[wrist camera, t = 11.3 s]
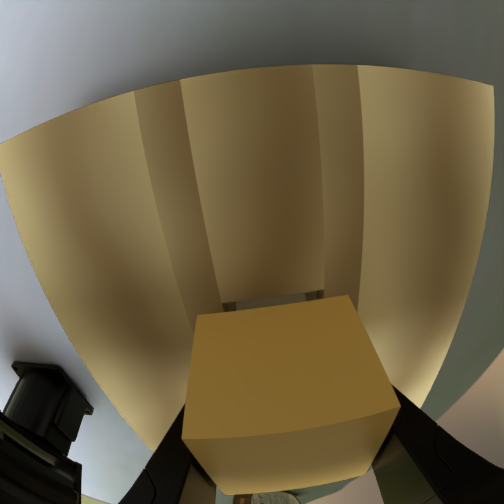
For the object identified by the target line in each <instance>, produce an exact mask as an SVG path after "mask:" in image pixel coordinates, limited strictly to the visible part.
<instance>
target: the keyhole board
mask: <svg viewBox="0 0 504 504" xmlns="http://www.w3.org/2000/svg"><path fill="white" fill-rule="evenodd" d="M493 154H494V91H493V86H491V85H487V84H484V83H480V82H476V81H471V80H467V79H463V78H458V77H453V76H448V75H442V74H437V73H431V72H424V71H417V70H410V69H402V68H392V67H381V66H366V65H341V64H311V65H286V66H271V67H260V68H250V69H241V70H233V71H226V72H219V73H213V74H206V75H201V76H195V77H190V78H185V79H180V80H175V81H171V82H166V83H162V84H158V85H154V86H150V87H146V88H142V89H138V90H135V91H131V92H128V93H124V94H121V95H117V96H114V97H111V98H108V99H105V100H102V101H99V102H96V103H93V104H90V105H87V106H84V107H82V108H79V109H76V110H74V111H71V112H69V113H66V114H64V115H61V116H59V117H56V118H54V119H51V120H49V121H47V122H45V123H42V124H40V125H38V126H36V127H33V128H31V129H29V130H27V131H25V132H23V133H21V134H19V135H17V136H15V137H13V138H11V139H9V140H7V141H5V142H3V143H1V144H0V172H1V176H2V180H3V183H4V187H5V191H6V194H7V197H8V201H9V204H10V207H11V210H12V213H13V217H14V220H15V222H16V225H17V228H18V231H19V234H20V236H21V239H22V242H23V244H24V247H25V249H26V252H27V254H28V257H29V259H30V262H31V264H32V266H33V269H34V271H35V273H36V275H37V278H38V280H39V282H40V284H41V286H42V288H43V291H44V293H45V295H46V297H47V299H48V301H49V303H50V305H51V307H52V309H53V310H54V312H55V314H56V316H57V318H58V320H59V322H60V324H61V325H62V327H63V329H64V331H65V332H66V334H67V336H68V338H69V339H70V341H71V343H72V344H73V346H74V348H75V349H76V351H77V353H78V354H79V356H80V357H81V359H82V361H83V362H84V364H85V365H86V367H87V368H88V370H89V371H90V373H91V374H92V376H93V377H94V379H95V380H96V382H97V383H98V384H99V386H100V387H101V389H102V390H103V391H104V393H105V394H106V396H107V397H108V398H109V400H110V401H111V402H112V404H113V405H114V406H115V408H116V409H117V410H118V411H119V413H120V414H121V415H122V416H123V418H124V419H125V420H126V421H127V423H128V424H129V425H130V426H131V428H132V429H133V430H134V431H135V432H136V433H137V435H138V436H139V437H140V438H141V439H142V440H143V442H144V443H145V444H146V445H147V446H148V447H149V448H150V449H151V450H152V452H153V453H154V452H155V450H156V449H157V447H158V446H159V444H160V442H161V441H162V439H163V438H164V436H165V434H166V433H167V431H168V430H169V428H170V426H171V425H172V423H173V422H174V420H175V418H176V417H177V415H178V413H179V412H180V410H181V409H182V407H183V405H184V404H185V402H186V394H187V385H188V377H189V369H190V362H191V354H192V347H193V340H194V332H195V325H196V319H197V315H203V314H213V313H222V312H228V308H227V303H228V302H236V301H244V300H252V299H260V298H268V297H275V296H283V295H290V294H297V293H304V292H311V291H317V300H319V299H325V298H331V297H337V296H343V295H348V296H349V298H350V300H351V302H352V303H353V305H354V307H355V309H356V311H357V313H358V315H359V317H360V319H361V321H362V323H363V325H364V327H365V329H366V331H367V334H368V336H369V338H370V340H371V342H372V344H373V346H374V348H375V350H376V352H377V354H378V356H379V359H380V361H381V363H382V365H383V367H384V369H385V372H386V374H387V376H388V378H389V380H390V383H391V384H392V385H393V386H395V387H396V388H397V389H398V390H399V391H400V392H401V393H403V394H404V395H405V396H406V397H407V398H408V399H409V400H411V401H412V402H413V403H414V404H415V405H416V406H417V407H419V408H421V406H422V404H423V402H424V400H425V399H426V397H427V395H428V393H429V391H430V389H431V387H432V385H433V383H434V380H435V378H436V376H437V374H438V372H439V370H440V368H441V365H442V363H443V361H444V358H445V356H446V354H447V351H448V349H449V346H450V344H451V341H452V339H453V336H454V334H455V331H456V328H457V326H458V323H459V320H460V317H461V314H462V312H463V309H464V305H465V302H466V299H467V296H468V293H469V289H470V286H471V283H472V279H473V275H474V272H475V268H476V264H477V260H478V256H479V251H480V247H481V242H482V238H483V233H484V227H485V222H486V216H487V210H488V203H489V196H490V188H491V179H492V168H493Z"/></svg>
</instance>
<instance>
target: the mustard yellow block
mask: <svg viewBox="0 0 504 504" xmlns="http://www.w3.org/2000/svg"><path fill="white" fill-rule="evenodd" d="M227 308H228V312H222V313H213V314H203V315H197V319H196V325H195V332H194V340H193V347H192V354H191V362H190V369H189V377H188V385H187V394H186V402H185V411H184V420H183V430H182V440H183V442H184V443H185V444H186V446H187V447H188V449H189V450H190V451H191V453H192V454H193V455H194V457H195V458H196V460H197V461H198V462H199V463H200V465H201V466H202V467H203V469H204V470H205V471H206V473H207V474H208V475H209V476H210V478H211V479H212V480H213V481H214V483H215V484H216V485H217V486H218V487H219V489H220V490H221V491H222V492H223V493H224V495H234V494H253V493H265V492H275V491H284V490H291V489H298V488H305V487H311V486H316V485H322V484H327V483H332V482H336V481H341V480H345V479H349V478H353V477H357V476H361V475H365V473H366V471H367V470H368V468H369V466H370V465H371V463H372V461H373V460H374V458H375V456H376V454H377V452H378V451H379V449H380V447H381V445H382V443H383V441H384V440H385V438H386V436H387V434H388V432H389V430H390V428H391V426H392V424H393V422H394V420H395V418H396V416H397V413H398V411H399V409H400V407H401V405H400V403H399V401H398V398H397V396H396V394H395V392H394V389H393V387H392V385H391V383H390V380H389V378H388V376H387V374H386V372H385V369H384V367H383V365H382V363H381V361H380V359H379V356H378V354H377V352H376V350H375V348H374V346H373V344H372V342H371V340H370V338H369V336H368V334H367V331H366V329H365V327H364V325H363V323H362V321H361V319H360V317H359V315H358V313H357V311H356V309H355V307H354V305H353V303H352V302H351V300H350V298H349V296H348V295H343V296H337V297H331V298H325V299H319V300H317V291H311V292H304V293H297V294H290V295H283V296H275V297H268V298H260V299H252V300H244V301H236V302H228V303H227Z"/></svg>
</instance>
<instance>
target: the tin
mask: <svg viewBox="0 0 504 504" xmlns="http://www.w3.org/2000/svg"><path fill="white" fill-rule="evenodd" d="M233 504H301V503H300V502H299V500H298V499H297V498H296V497H295V496H294V495H293V494H292V493H289V492H286V491H275V492H265V493H253V494H235V495H234V498H233Z"/></svg>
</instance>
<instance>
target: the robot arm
mask: <svg viewBox="0 0 504 504" xmlns="http://www.w3.org/2000/svg"><path fill="white" fill-rule="evenodd" d="M11 366H12V368H13V370H14V371H15V372H16V374H17V375H18V376H19V380H18V382H17V384H16V386H15V388H14V390H13V392H12V394H11V396H10V398H9V400H8V402H7V404H6V406H5V408H4V410H3V412H1V410H0V504H81V476H82V465H81V464H80V463H78V462H74V461H72V460H71V459H69V458H67V456H68V452H69V449H70V446H71V443H72V442H75V440H76V437H77V434H78V431H79V428H80V425H81V422H82V419H83V416H84V414H85V415H92V414H93V409H92V408H91V407H90V405H89V404H88V403H87V402H86V400H85V399H84V398H83V397H82V395H81V394H80V393H79V392H78V390H77V389H76V388H75V386H74V385H73V384H72V382H71V381H70V380H69V378H68V377H67V375H66V374H65V373H64V371H63V370H62V369H61V368H60V367H58V366H54V365H42V364H31V363H21V362H13V364H12V365H11ZM391 385H392V384H391ZM392 387H393V389H394V392H395V394H396V396H397V398H398V401H399V403H400V405H401V407H400V409H399V411H398V413H397V416H396V418H395V420H394V422H393V424H392V426H391V428H390V430H389V432H388V434H387V436H386V438H385V440H384V441H383V443H382V445H381V447H380V449H379V451H378V452H377V454H376V456H375V458H374V460H373V461H372V463H371V464H372V467H373V470H374V473H375V476H376V480H377V483H378V485H379V489H380V492H381V495H382V498H383V502H384V504H504V469H503V468H500V467H498V466H495V465H494V464H492V463H490V462H489V461H487V460H486V459H484V458H483V457H481V456H479V455H478V454H476V453H475V452H473V451H472V450H470V449H469V448H467V447H466V446H464V445H463V444H462V443H460V442H459V441H457V440H456V439H455V438H453V437H452V436H451V435H450V434H449V433H447V432H446V431H445V430H444V429H443V428H442V427H440V426H439V425H438V426H437V423H436V422H435V421H433V420H432V419H431V418H430V417H429V416H428V415H427V414H425V413H424V412H423V411H422V410H421V409H420V408H419V407H417V406H416V405H415V404H414V403H413V402H412V401H411V400H409V399H408V398H407V397H406V396H405V395H404V394H403V393H401V392H400V391H399V390H398V389H397V388H396V387H395V386H393V385H392ZM184 411H185V404H184V405H183V407H182V409H181V410H180V412H179V413H178V415H177V417H176V418H175V420H174V422H173V423H172V425H171V426H170V428H169V430H168V431H167V433H166V434H165V436H164V438H163V439H162V441H161V442H160V444H159V446H158V447H157V449H156V450H155V452H154V453H153V455H152V457H151V458H150V460H149V461H148V463H147V465H146V466H145V469H143V471H142V472H141V474H140V475H139V477H138V478H137V480H136V481H135V483H134V484H133V486H132V487H131V488H130V490H129V491H128V492H127V494H126V495H125V496H124V497H123V498H122V500H121V501H120V502H119V503H118V504H215V499H216V484H215V483H214V481H213V480H212V479H211V478H210V476H209V475H208V474H207V473H206V471H205V470H204V469H203V467H202V466H201V465H200V463H199V462H198V461H197V460H196V458H195V457H194V455H193V454H192V453H191V451H190V450H189V449H188V447H187V446H186V444H185V443H184V442H183V440H182V430H183V420H184Z"/></svg>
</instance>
